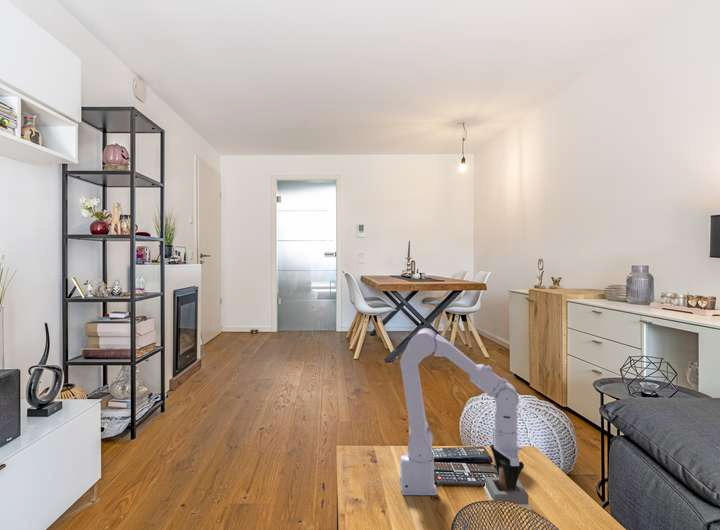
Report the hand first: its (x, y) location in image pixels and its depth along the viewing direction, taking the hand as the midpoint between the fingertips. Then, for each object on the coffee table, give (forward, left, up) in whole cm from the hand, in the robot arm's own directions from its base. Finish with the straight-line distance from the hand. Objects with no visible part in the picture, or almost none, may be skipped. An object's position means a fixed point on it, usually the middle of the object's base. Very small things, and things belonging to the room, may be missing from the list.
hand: (506, 480), depth 113 cm
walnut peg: (0, 0, -4) cm, 4 cm away
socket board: (0, 0, -5) cm, 5 cm away
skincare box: (+5, +19, -5) cm, 20 cm away
